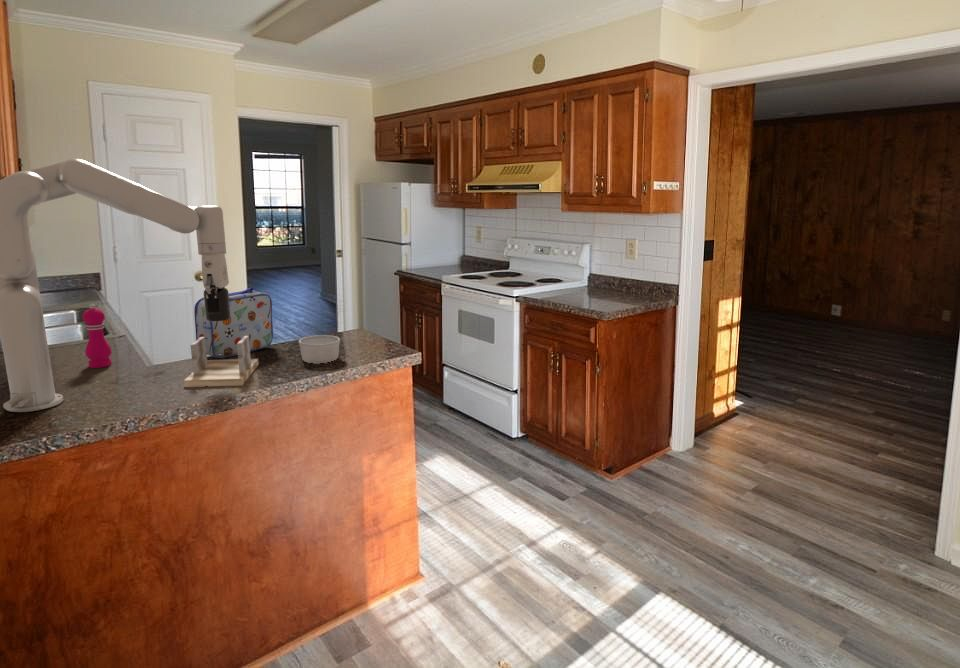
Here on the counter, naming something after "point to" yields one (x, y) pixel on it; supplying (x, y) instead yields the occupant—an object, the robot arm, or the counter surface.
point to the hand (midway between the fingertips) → (217, 308)
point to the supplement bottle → (223, 304)
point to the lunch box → (237, 324)
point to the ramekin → (319, 348)
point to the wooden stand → (220, 366)
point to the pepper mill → (96, 339)
